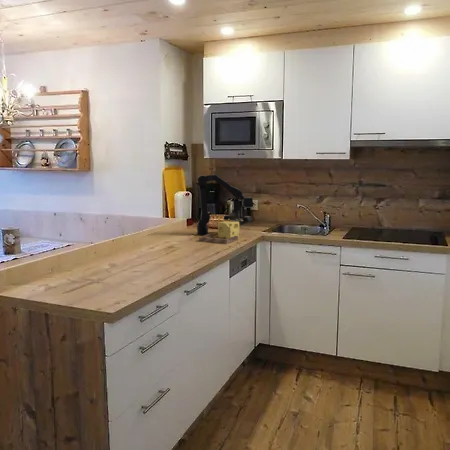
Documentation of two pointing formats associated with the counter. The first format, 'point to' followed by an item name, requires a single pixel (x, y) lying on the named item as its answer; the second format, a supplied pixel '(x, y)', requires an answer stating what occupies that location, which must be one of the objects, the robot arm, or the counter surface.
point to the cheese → (228, 229)
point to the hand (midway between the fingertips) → (237, 230)
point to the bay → (217, 239)
